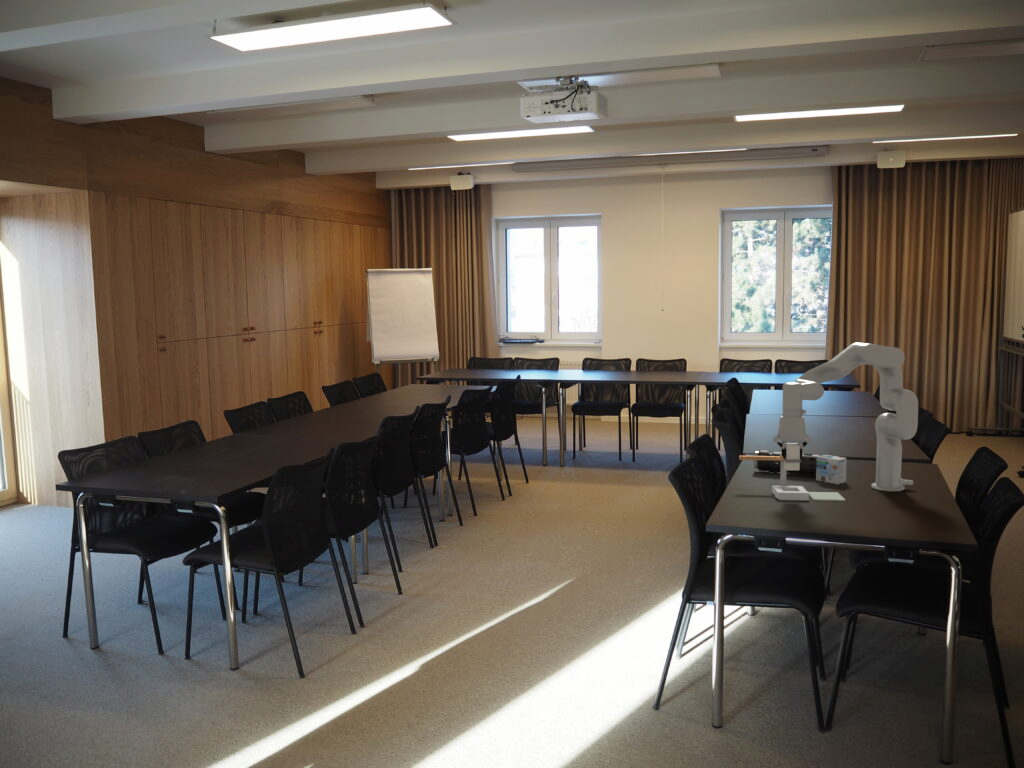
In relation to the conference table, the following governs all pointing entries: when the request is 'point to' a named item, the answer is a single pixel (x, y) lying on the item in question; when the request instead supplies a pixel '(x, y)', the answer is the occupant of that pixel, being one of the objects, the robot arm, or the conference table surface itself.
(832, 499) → the mat
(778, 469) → the muzzle brake
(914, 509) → the conference table surface
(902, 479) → the robot arm
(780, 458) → the wooden bar
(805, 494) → the socket block
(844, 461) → the light bulb box
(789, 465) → the plug
